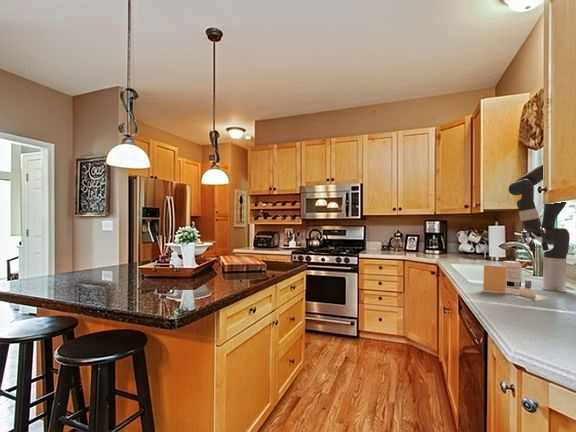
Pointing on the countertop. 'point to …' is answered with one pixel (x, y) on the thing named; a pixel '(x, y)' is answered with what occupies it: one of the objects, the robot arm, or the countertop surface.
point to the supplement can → (513, 274)
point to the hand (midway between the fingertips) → (539, 250)
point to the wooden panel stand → (502, 282)
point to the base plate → (538, 297)
